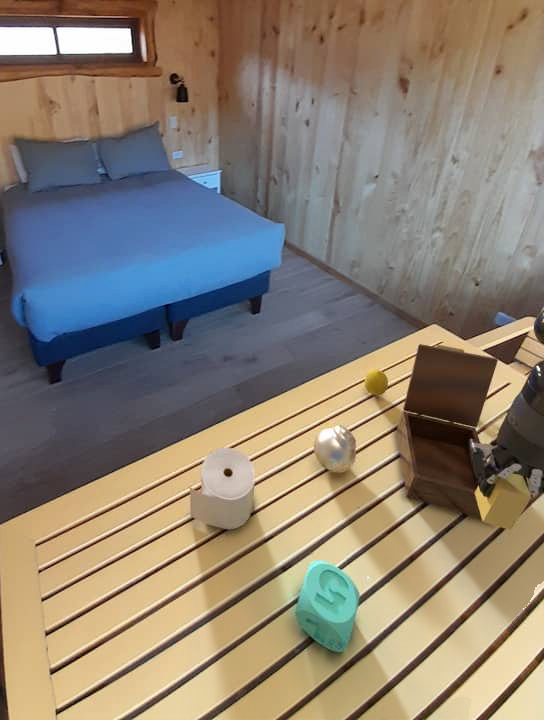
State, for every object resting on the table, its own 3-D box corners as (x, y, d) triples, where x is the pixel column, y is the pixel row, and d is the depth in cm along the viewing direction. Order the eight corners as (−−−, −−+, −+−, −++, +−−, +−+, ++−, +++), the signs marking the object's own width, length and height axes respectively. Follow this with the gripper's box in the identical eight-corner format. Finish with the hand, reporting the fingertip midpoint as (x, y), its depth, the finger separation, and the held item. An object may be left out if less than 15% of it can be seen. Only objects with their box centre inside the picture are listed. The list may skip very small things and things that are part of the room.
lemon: (385, 390, 109) (391, 368, 105) (383, 404, 105) (389, 382, 101) (364, 382, 112) (369, 361, 108) (360, 396, 107) (366, 374, 104)
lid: (498, 360, 84) (489, 347, 89) (419, 345, 89) (415, 334, 94) (476, 427, 90) (469, 412, 94) (403, 410, 94) (400, 396, 99)
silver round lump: (361, 481, 87) (370, 451, 83) (318, 481, 87) (324, 451, 83) (346, 443, 95) (353, 414, 91) (306, 444, 95) (311, 415, 91)
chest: (488, 521, 79) (500, 500, 76) (406, 497, 84) (413, 476, 81) (466, 448, 93) (475, 428, 90) (396, 430, 98) (402, 410, 95)
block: (501, 500, 69) (519, 467, 65) (511, 530, 65) (531, 497, 61) (474, 493, 71) (491, 460, 67) (482, 522, 66) (501, 489, 62)
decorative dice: (292, 624, 66) (297, 600, 62) (308, 575, 72) (313, 551, 68) (342, 661, 62) (350, 638, 58) (354, 606, 68) (363, 582, 64)
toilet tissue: (260, 494, 85) (264, 464, 80) (234, 548, 76) (236, 518, 72) (217, 468, 90) (218, 438, 86) (187, 515, 81) (187, 485, 77)
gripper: (587, 418, 59) (542, 488, 67) (476, 394, 64) (446, 462, 71) (616, 463, 53) (563, 535, 61) (490, 433, 57) (456, 504, 65)
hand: (500, 496), depth 66 cm, fingers closed on block, 4 cm apart
